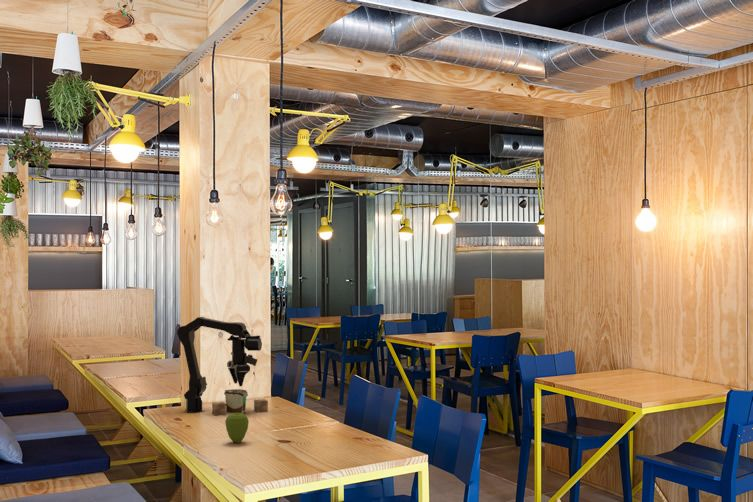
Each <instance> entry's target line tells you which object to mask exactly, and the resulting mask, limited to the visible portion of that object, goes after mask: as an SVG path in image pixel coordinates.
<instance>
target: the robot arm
mask: <svg viewBox="0 0 753 502" xmlns="http://www.w3.org/2000/svg"><path fill="white" fill-rule="evenodd" d="M201 327H204V328H208V329H209V328H210V329H214V330H219V331H223V332H226V333H227V334H230V336H229V337H228V338H227V341H231V352H230V355H231V360H228V361H227V363H226V367H227V369H228V372H229V373H230V376H231V378H232V381H233V383H234V384H238V386H239V387H243V385H244V382H245V381H244V380H245V376H246V375H247V374H248V373H249V372H250V371H251V366H250V365H252V366H254V367H256V365H257V363H258V359H257V358H255V357H254V356H253V355H252V354H247V352H246V351H245V350H247V351H250V352H251V351H252V352H253V351H254V352H258V351H259V352H260V351H261V350H262V348H263V347H262V346H263V342H262V339H261V335H251V333H249V331H248V329H247V326H246V324H245V323H244V322H237V321H236V322H233V321H230V322H227V321H221V320H218V319H213V318H207V317H204V316H198V317H195V319H194V320H192V321H190V322H189V323H187V324H186V325H181V326H179V327H178V329H177V331H176V334H177V337H178V340H179V342H180V343H181V344H182V347H183V350H184V355H185V359H186V364H187V369H188V373H189V381H188V390H187V391H186V392H185V393H184V394H183V396H184V399H185V411H186V413H200V412H203V400H202V397H203V394H204V392H205V391H206V389H207V386H208V382H207V380H206V379H207V378H206V376H202V374H201V373H200V368H199V363H198V358H197V354H196V353H197V352H196V348H195V337H196V336H195V333H196V332H197V331H198V330H199V329H200V328H201ZM249 364H250V365H249Z"/></svg>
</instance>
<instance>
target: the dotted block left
mask: <svg viewBox="0 0 753 502" xmlns="http://www.w3.org/2000/svg"><path fill="white" fill-rule="evenodd" d="M211 406H212V407H211V408H212V410H211V411H212V412H211V414H212V415H213V416H215V417H216V416H226V414H227V413H226V402H224V401H217V402H212V405H211Z"/></svg>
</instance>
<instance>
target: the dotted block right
mask: <svg viewBox="0 0 753 502" xmlns="http://www.w3.org/2000/svg"><path fill="white" fill-rule="evenodd" d="M253 411H254V412H255V413H267V412H268V411H269V401H268V400H267V399H265V398H262V399H261V398H260V399H254V400H253Z"/></svg>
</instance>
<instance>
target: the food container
mask: <svg viewBox="0 0 753 502" xmlns="http://www.w3.org/2000/svg"><path fill="white" fill-rule="evenodd" d="M223 394H224V395H225V397H224V398H225V403H226V414H232V413H244V414H245V415H246V404H247V397H249V393H248V390H246V389H241V388H240V389H239V388H238V389H236V388H235V389H234V388H233V389H225V390H224V393H223Z"/></svg>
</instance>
